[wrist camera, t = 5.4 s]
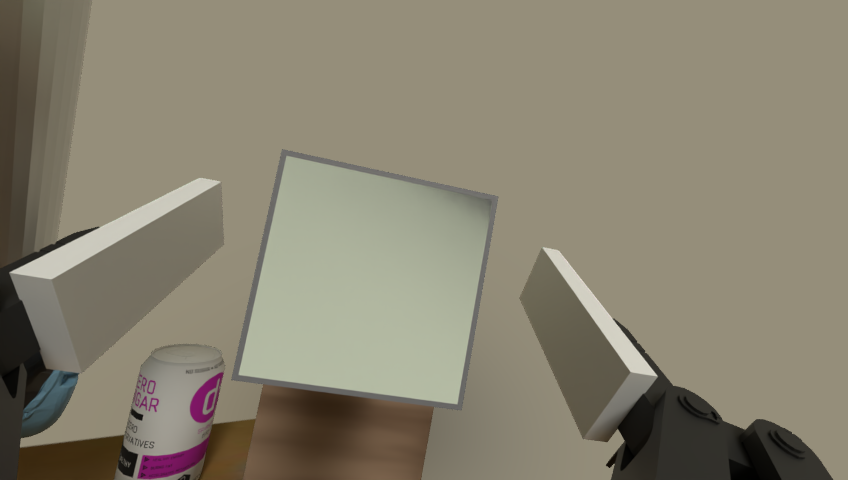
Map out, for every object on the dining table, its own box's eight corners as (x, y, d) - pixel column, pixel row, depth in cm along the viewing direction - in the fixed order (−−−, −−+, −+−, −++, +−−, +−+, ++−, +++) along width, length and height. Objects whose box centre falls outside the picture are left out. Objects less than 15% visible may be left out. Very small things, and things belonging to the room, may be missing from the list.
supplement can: (214, 467, 43) (240, 349, 44) (166, 516, 34) (199, 370, 35) (152, 456, 43) (179, 338, 44) (88, 502, 34) (123, 356, 35)
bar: (461, 410, 6) (498, 196, 7) (231, 379, 6) (281, 149, 6) (393, 282, 36) (400, 244, 36) (354, 275, 36) (362, 236, 36)
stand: (380, 837, 18) (470, 315, 20) (137, 845, 16) (261, 279, 18) (379, 530, 38) (424, 284, 40) (269, 521, 36) (322, 266, 38)
